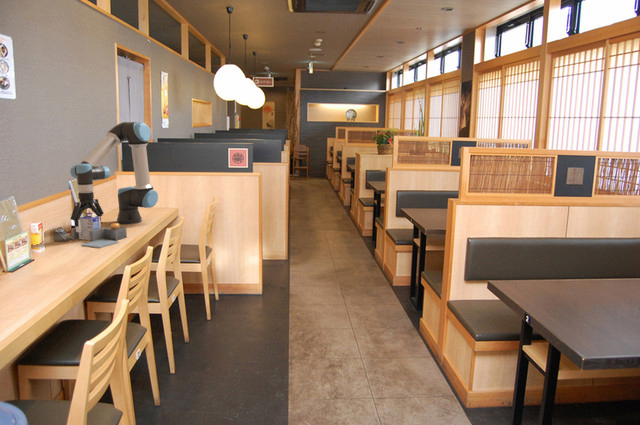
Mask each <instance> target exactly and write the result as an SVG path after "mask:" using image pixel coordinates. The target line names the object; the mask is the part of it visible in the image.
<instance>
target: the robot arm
mask: <svg viewBox="0 0 640 425" xmlns="http://www.w3.org/2000/svg"><path fill="white" fill-rule="evenodd" d="M150 128H151V127H150V126H148V124H147V123H145V122H140V121H134V122H133V121H132V122H130V121H128V122H127V121H125V122H124V121H123V122H119V123H117V124H116V125H115V126H113V127H112V128H110V130H108V131H107V133H106V134H105V137H104V138H103V139H102V140H101V141H100V143H98V145H97V146H96V147H95V148H93V149H92V151H91V152H89V154H88V155H87V156H86V157H85V158H84V159H83V160H82V161H81V162H80V163H78V164H75V165H72V167H71V168H70V175H71V177H73V178H75V179H76V181H77V191H78V193H77V195H78V199H79V202H77V201H74V207H73V209H72V213H71V216H70V220H71V221H73V222H74V227H75V228H76V232H81V227H80V220H79V218H80V217H82V214H83V213H84V211H86V210H88V209H89V210H91V211H92V213H94V214H95V216H94V217H98V218H99V229H100V228H102V227H101V224H102V223H101V221H102V217H103V215H104V211H103V208H102V207H101V205H100V203H99V199H98V198H95V196H94V193H95V192H93V191H94V181H98V180H99V181H100V180H105V179H108V178H109V177H110V176H111V170H110V168H109V167H108V166H107V165H106V166H105V165H99V164H100V163H102V162H103V161H104V159H105V158H107V156H108V155H109V154H110V153H111V152H112V151H113V150H114V148H115V147H116V146H120V145H121V143H123V142H127V144H128V146H129V147H130V148H131V155H132V164H133V172H134V178H135V179H134V180H135V185H134V186H125V187H120V188H118V189H117V201H118V213H117V217H116V223H119V225H128V224H129V225H130V224H138V223H141V222H142V221H143V218H142V216H141V214H140V211H139V208H145V209H147V208H148V209H150V208H153V207H155V206H156V205H157V203H158V200H159V194H158V192H157V190H155V189H154V185H152V184H151V180H150V172H149V163H148V162H149V161H148V151H147V146H148V144H149V141H150V140H151V137H152V130H151V129H150Z"/></svg>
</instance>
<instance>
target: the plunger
mask: <svg viewBox="0 0 640 425" xmlns="http://www.w3.org/2000/svg"><path fill="white" fill-rule="evenodd" d="M110 227H111V228H113V229H117V228H119V227H120V224H119V223H117V222H114V223H113V222H112V223H111V224H110Z"/></svg>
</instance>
